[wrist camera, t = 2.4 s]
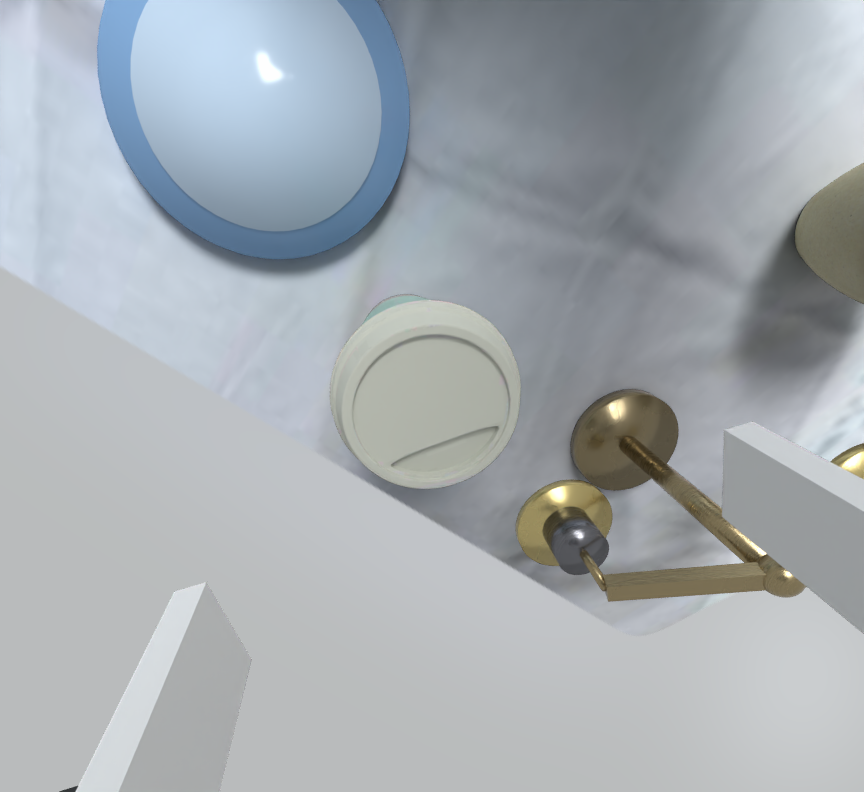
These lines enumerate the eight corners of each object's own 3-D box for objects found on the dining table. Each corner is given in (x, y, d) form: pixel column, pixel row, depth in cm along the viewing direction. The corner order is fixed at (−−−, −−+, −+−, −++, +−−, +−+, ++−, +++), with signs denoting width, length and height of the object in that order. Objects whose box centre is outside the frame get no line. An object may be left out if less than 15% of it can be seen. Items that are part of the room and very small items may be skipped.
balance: (477, 430, 33) (583, 624, 17) (751, 353, 34) (1083, 471, 18) (496, 516, 36) (600, 746, 20) (746, 443, 37) (1026, 609, 21)
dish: (44, -39, 21) (26, -53, 20) (363, -110, 21) (363, -128, 20) (189, 286, 27) (181, 289, 25) (435, 222, 27) (438, 222, 26)
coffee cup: (329, 386, 30) (310, 486, 19) (353, 256, 27) (349, 285, 16) (450, 409, 32) (498, 511, 21) (485, 289, 29) (561, 335, 18)
